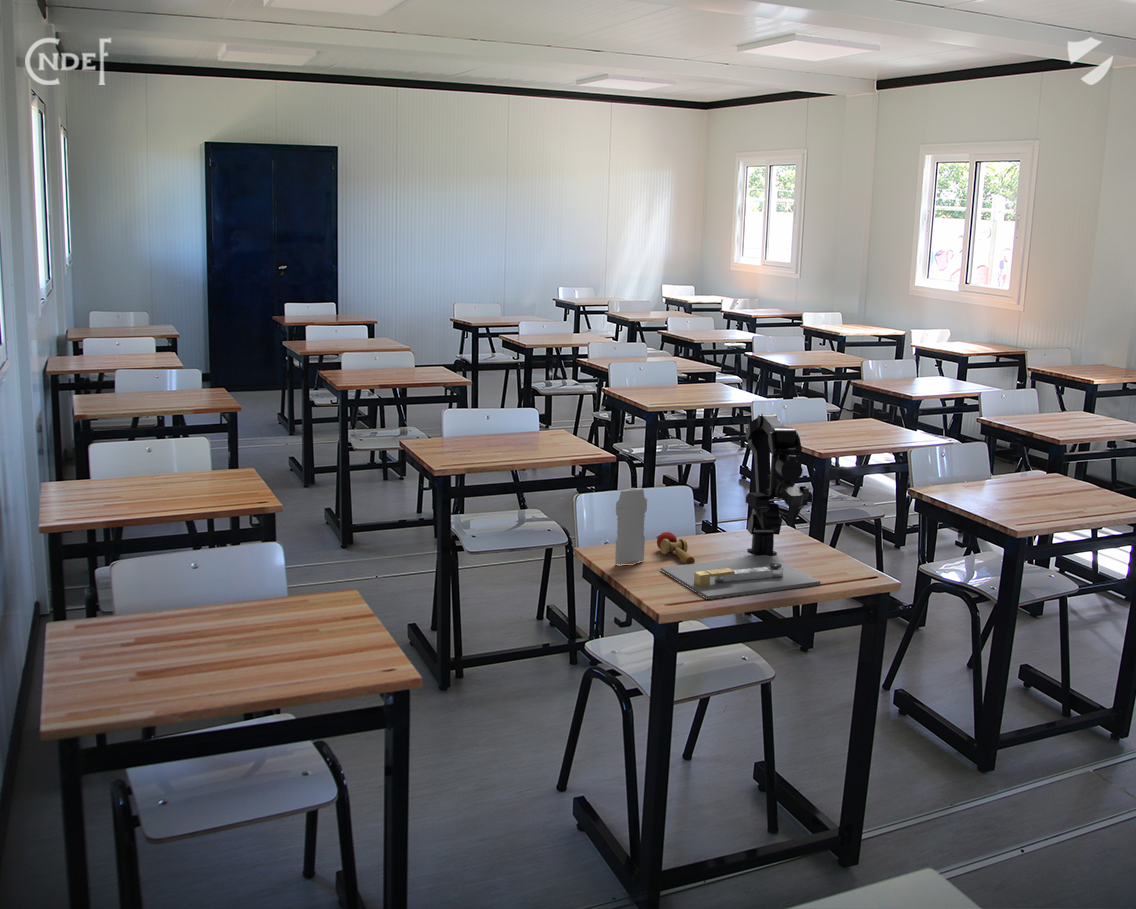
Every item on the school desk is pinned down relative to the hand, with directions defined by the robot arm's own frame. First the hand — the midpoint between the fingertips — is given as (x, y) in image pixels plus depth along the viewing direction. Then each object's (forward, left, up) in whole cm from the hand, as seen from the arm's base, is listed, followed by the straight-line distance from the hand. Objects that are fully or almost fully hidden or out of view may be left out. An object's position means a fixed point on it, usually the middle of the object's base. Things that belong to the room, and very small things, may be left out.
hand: (777, 527), depth 265 cm
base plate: (+4, -14, -12) cm, 19 cm away
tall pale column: (-18, -37, -12) cm, 43 cm away
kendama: (-19, -21, -12) cm, 31 cm away
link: (+7, -14, -11) cm, 19 cm away
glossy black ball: (+8, -6, -9) cm, 13 cm away
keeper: (+8, -25, -11) cm, 28 cm away
